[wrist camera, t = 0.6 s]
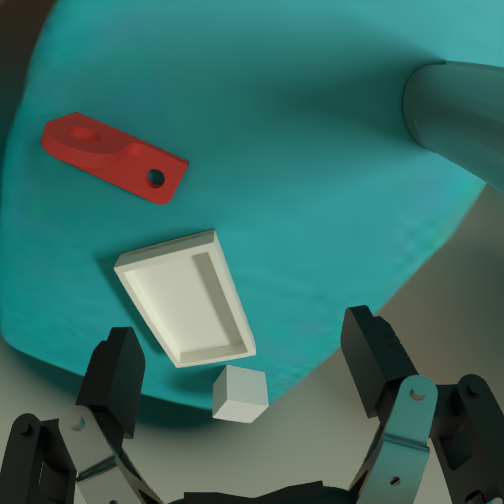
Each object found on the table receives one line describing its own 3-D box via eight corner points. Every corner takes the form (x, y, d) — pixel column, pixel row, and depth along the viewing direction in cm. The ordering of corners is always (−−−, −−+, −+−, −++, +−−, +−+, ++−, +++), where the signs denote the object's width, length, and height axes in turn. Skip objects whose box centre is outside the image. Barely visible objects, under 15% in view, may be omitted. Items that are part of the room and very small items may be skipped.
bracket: (62, 155, 24) (17, 184, 17) (76, 111, 22) (28, 129, 15) (168, 203, 27) (150, 248, 21) (189, 161, 26) (174, 195, 19)
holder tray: (214, 228, 29) (213, 242, 27) (254, 339, 38) (256, 354, 36) (120, 254, 30) (113, 268, 28) (178, 353, 39) (176, 367, 37)
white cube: (226, 363, 41) (227, 399, 36) (264, 371, 42) (268, 406, 37) (212, 384, 44) (212, 417, 38) (248, 391, 45) (250, 423, 40)
